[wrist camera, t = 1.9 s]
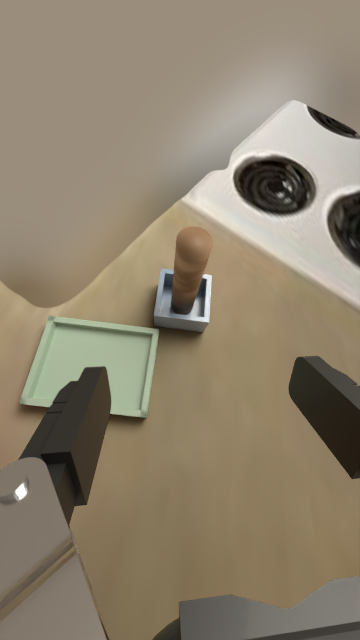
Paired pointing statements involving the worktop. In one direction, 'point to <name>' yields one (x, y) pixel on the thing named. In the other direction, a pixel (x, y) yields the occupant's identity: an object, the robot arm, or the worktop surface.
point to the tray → (94, 362)
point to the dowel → (189, 267)
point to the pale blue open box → (170, 319)
